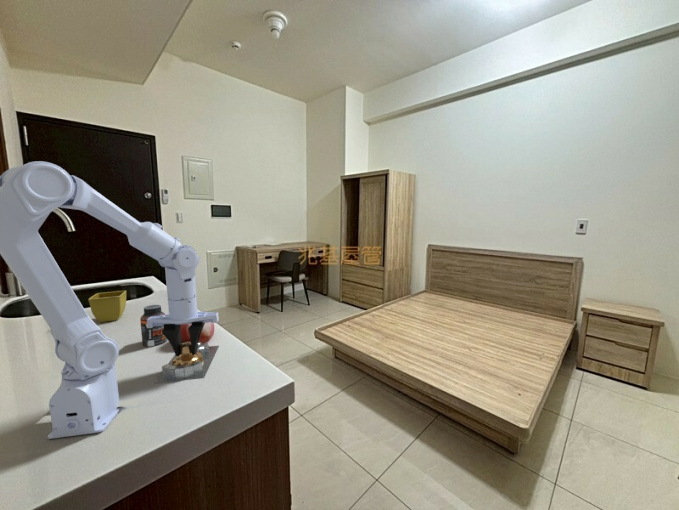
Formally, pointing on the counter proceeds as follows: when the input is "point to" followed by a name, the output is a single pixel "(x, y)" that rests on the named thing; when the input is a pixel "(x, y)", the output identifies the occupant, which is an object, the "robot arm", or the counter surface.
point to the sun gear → (203, 348)
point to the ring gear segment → (182, 370)
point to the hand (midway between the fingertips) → (186, 353)
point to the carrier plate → (205, 366)
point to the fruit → (205, 334)
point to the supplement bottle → (153, 334)
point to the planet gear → (186, 356)
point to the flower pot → (108, 305)
